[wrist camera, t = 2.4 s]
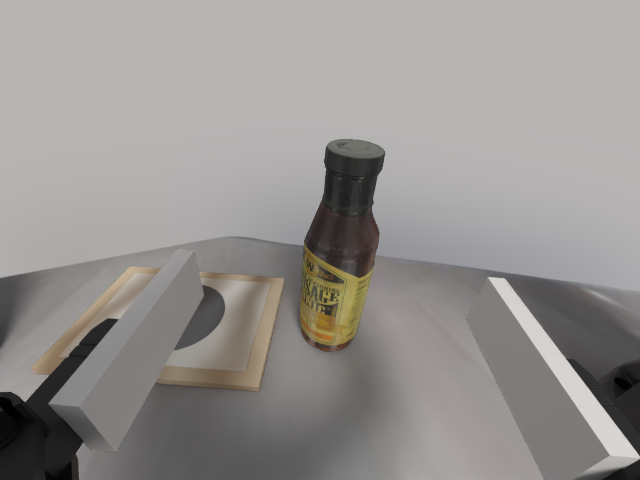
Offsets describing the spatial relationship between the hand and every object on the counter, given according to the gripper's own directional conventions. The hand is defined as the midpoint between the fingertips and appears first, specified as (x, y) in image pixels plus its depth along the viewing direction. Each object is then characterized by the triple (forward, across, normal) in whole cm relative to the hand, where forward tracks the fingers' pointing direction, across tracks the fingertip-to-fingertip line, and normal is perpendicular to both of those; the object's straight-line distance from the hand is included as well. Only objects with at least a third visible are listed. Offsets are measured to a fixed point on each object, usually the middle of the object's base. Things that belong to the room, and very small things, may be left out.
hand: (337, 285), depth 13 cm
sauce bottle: (+10, +1, -16) cm, 19 cm away
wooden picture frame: (+10, -15, -16) cm, 24 cm away
